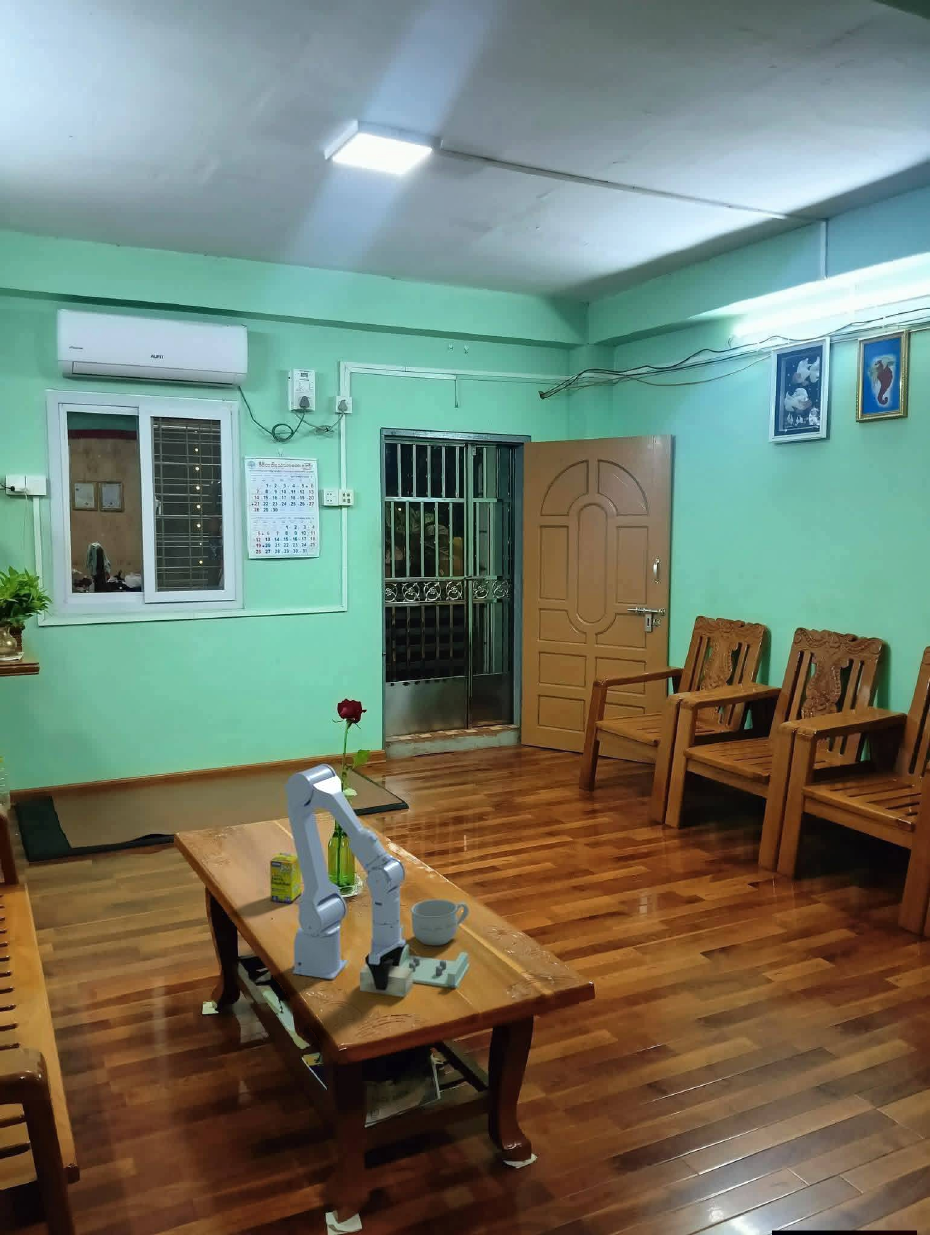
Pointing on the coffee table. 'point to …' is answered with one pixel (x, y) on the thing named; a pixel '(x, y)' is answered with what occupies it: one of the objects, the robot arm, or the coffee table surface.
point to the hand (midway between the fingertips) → (386, 981)
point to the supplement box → (285, 878)
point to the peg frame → (436, 969)
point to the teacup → (436, 920)
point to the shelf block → (389, 981)
